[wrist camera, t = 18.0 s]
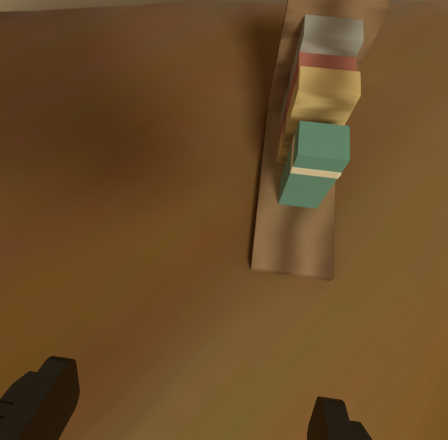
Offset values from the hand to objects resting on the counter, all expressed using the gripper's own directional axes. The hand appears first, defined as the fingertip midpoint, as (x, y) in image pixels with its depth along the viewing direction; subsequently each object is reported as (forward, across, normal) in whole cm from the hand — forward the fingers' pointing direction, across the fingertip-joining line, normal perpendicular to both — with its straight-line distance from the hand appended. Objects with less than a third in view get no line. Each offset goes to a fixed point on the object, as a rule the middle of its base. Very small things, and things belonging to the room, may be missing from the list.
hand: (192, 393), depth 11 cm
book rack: (+36, -8, +4) cm, 37 cm away
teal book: (+34, -8, +4) cm, 36 cm away
